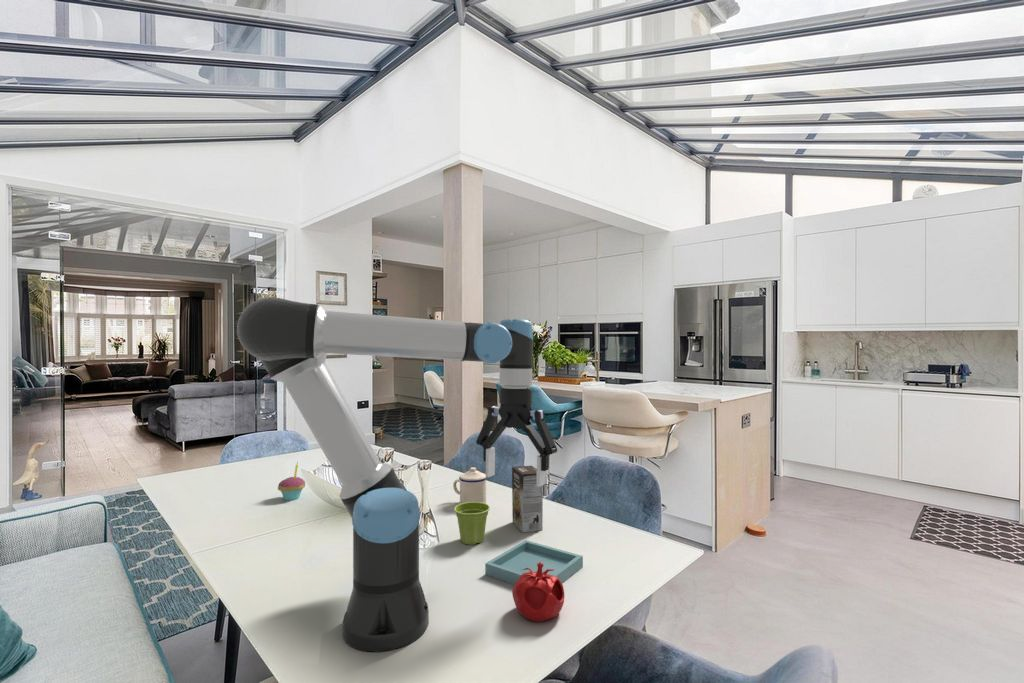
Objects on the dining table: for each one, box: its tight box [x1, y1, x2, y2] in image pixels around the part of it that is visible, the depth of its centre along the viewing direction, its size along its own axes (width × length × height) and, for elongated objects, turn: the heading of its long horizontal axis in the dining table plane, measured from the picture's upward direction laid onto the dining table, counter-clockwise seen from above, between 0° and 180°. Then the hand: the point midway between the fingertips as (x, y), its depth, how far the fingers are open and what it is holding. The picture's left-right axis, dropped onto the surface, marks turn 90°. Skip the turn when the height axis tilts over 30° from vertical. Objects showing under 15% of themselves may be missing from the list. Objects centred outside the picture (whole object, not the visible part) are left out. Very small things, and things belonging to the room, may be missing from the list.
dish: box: [484, 540, 584, 585], centre depth 109 cm, size 16×16×2 cm
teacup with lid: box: [452, 467, 488, 504], centre depth 157 cm, size 12×9×12 cm
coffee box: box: [511, 465, 544, 533], centre depth 137 cm, size 9×6×16 cm
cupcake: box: [277, 461, 306, 501], centre depth 163 cm, size 9×8×12 cm
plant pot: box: [453, 502, 491, 546], centre depth 126 cm, size 9×9×9 cm
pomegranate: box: [511, 562, 566, 622], centre depth 92 cm, size 10×10×9 cm
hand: (514, 480), depth 109 cm, fingers open, 13 cm apart
